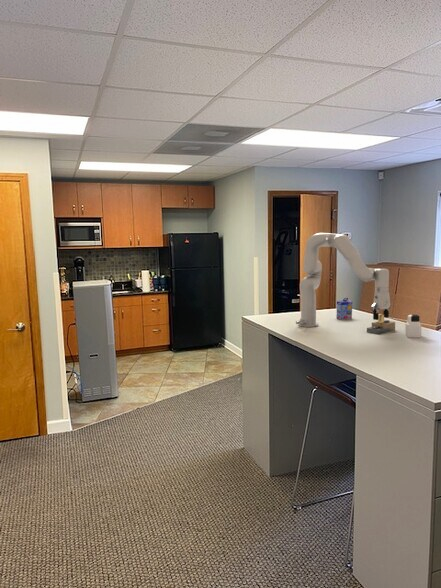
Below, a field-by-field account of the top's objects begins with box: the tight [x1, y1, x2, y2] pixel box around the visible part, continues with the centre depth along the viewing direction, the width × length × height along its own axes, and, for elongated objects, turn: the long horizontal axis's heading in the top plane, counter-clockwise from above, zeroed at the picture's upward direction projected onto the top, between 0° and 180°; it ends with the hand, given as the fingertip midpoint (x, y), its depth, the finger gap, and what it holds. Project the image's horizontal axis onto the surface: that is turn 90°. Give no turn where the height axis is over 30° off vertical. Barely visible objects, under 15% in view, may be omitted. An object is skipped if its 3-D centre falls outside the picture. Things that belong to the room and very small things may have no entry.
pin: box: [377, 313, 385, 324], centre depth 250 cm, size 3×3×10 cm
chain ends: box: [366, 319, 396, 335], centre depth 250 cm, size 16×8×6 cm, turn 125°
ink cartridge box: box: [335, 297, 353, 321], centre depth 291 cm, size 10×6×14 cm, turn 115°
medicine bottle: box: [404, 314, 422, 339], centre depth 235 cm, size 7×7×12 cm
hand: (380, 318), depth 249 cm, fingers open, 9 cm apart
